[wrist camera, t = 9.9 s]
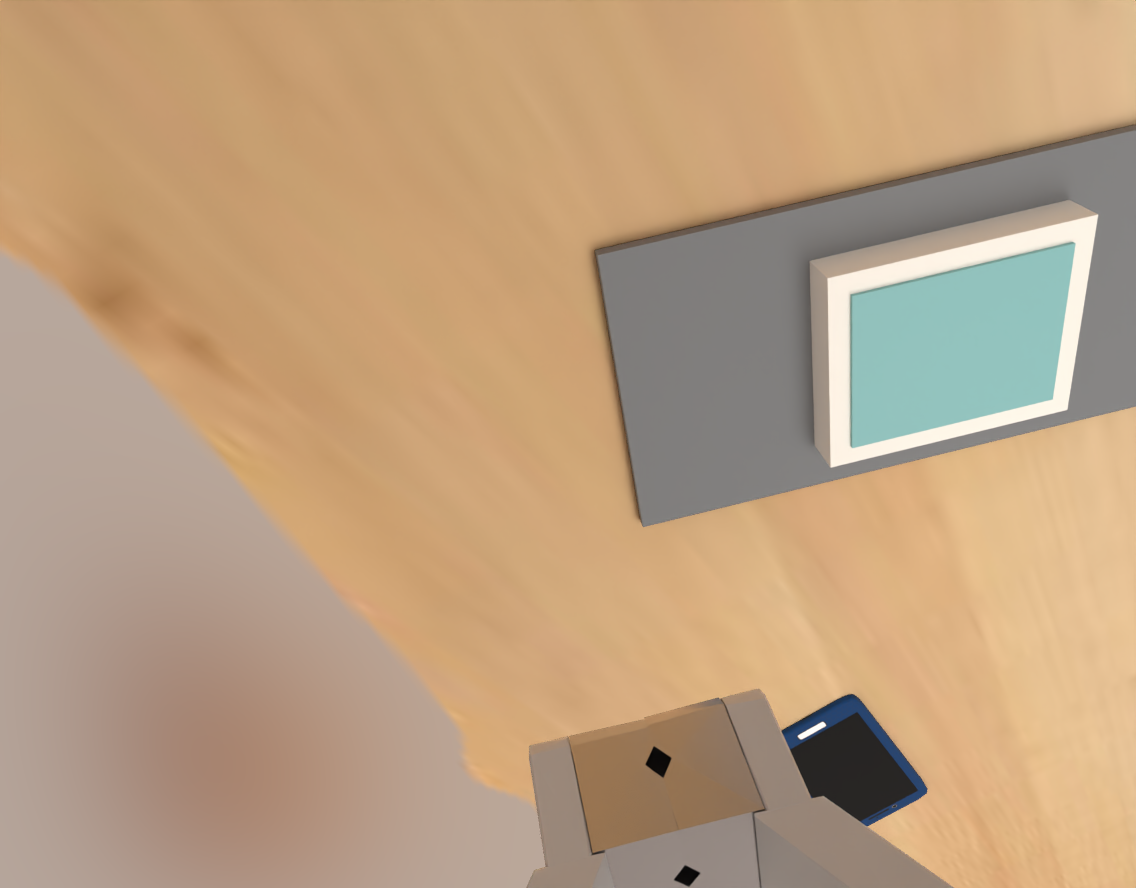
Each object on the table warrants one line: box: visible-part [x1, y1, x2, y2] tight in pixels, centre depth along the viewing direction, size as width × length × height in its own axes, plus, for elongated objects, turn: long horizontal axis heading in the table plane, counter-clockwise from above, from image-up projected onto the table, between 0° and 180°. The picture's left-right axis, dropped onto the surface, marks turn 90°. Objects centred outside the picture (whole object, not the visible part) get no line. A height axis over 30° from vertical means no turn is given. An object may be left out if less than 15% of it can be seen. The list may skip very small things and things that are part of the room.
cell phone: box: [782, 694, 927, 826], centre depth 62 cm, size 7×14×1 cm, turn 34°
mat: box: [595, 125, 1136, 527], centre depth 43 cm, size 15×30×1 cm, turn 100°
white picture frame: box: [810, 200, 1098, 468], centre depth 42 cm, size 10×2×12 cm
